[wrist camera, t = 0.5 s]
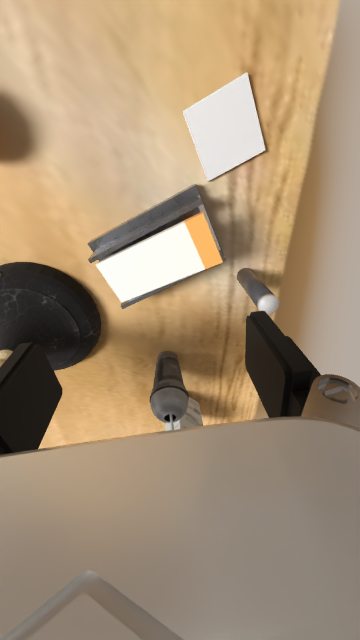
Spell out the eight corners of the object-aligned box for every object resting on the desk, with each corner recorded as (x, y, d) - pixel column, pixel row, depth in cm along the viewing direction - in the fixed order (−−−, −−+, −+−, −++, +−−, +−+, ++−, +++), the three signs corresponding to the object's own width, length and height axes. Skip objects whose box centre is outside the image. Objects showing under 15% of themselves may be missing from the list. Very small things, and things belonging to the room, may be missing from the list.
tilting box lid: (123, 298, 40) (121, 302, 39) (98, 261, 37) (95, 264, 36) (222, 259, 35) (222, 262, 34) (203, 211, 32) (203, 213, 31)
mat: (182, 112, 33) (183, 110, 33) (245, 74, 32) (247, 72, 31) (207, 181, 38) (208, 181, 37) (263, 150, 36) (265, 150, 36)
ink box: (162, 397, 62) (163, 442, 52) (176, 387, 60) (180, 431, 50) (186, 412, 65) (191, 457, 55) (200, 403, 64) (208, 446, 54)
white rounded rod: (234, 272, 46) (256, 301, 36) (249, 265, 45) (276, 292, 35) (239, 285, 47) (262, 317, 37) (254, 278, 47) (281, 309, 37)
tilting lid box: (129, 298, 47) (124, 316, 41) (90, 240, 41) (79, 252, 35) (221, 253, 44) (231, 266, 38) (194, 184, 38) (201, 186, 32)
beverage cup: (176, 342, 53) (185, 423, 36) (187, 365, 57) (200, 449, 40) (145, 352, 54) (140, 436, 37) (158, 375, 58) (158, 460, 41)
